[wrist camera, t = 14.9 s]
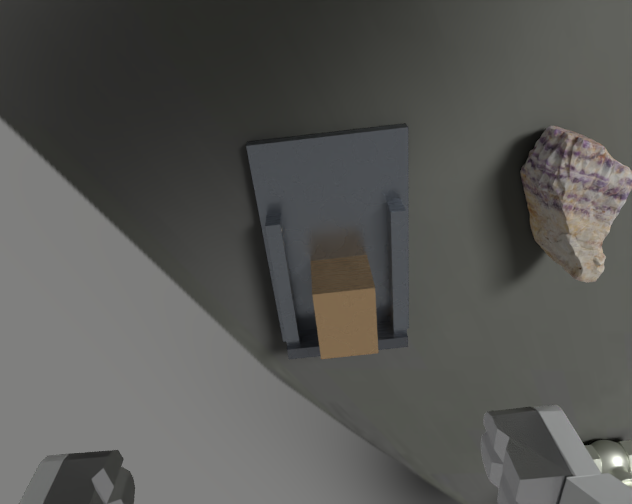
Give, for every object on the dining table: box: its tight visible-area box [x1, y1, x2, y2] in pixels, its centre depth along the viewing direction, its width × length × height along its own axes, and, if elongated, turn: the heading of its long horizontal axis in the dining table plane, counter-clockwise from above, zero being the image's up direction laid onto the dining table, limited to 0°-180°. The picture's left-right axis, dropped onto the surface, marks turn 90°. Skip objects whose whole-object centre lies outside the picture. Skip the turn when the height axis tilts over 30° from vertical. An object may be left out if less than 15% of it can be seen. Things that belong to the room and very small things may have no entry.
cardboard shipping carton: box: [311, 255, 378, 359], centre depth 41 cm, size 5×7×5 cm
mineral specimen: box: [520, 126, 632, 283], centre depth 37 cm, size 13×7×6 cm, turn 23°
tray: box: [246, 124, 409, 359], centre depth 40 cm, size 12×20×4 cm, turn 6°
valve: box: [585, 440, 632, 489], centre depth 53 cm, size 7×7×12 cm
